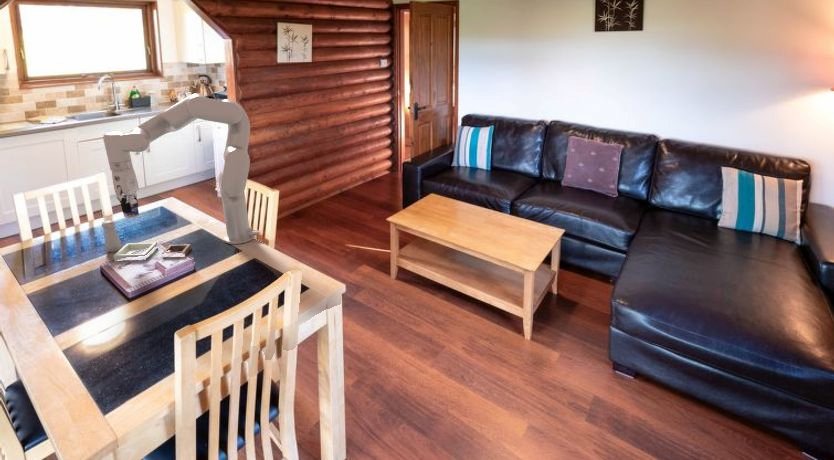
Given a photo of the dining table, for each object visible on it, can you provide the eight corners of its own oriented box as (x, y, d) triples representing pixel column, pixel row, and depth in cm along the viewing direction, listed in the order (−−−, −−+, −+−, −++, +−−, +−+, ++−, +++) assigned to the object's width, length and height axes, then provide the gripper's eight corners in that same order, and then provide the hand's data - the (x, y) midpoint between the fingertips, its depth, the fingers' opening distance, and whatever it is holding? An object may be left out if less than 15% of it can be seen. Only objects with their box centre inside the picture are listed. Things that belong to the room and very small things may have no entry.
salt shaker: (117, 246, 208) (110, 218, 203) (125, 249, 205) (118, 220, 200) (104, 251, 203) (96, 222, 198) (112, 254, 200) (104, 225, 195)
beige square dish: (191, 248, 206) (190, 244, 205) (184, 257, 198) (183, 252, 197) (170, 249, 205) (169, 244, 205) (162, 257, 197) (161, 253, 197)
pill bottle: (129, 219, 191) (125, 197, 187) (121, 216, 193) (117, 195, 190) (142, 215, 195) (138, 194, 192) (133, 212, 197) (130, 192, 194)
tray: (158, 247, 206) (156, 242, 205) (146, 260, 195) (144, 254, 194) (128, 249, 205) (127, 243, 204) (114, 261, 194) (113, 255, 193)
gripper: (120, 170, 179) (131, 217, 185) (140, 159, 194) (149, 202, 201) (99, 171, 178) (110, 217, 185) (120, 159, 194) (130, 202, 200)
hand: (130, 209), depth 193 cm, fingers closed on pill bottle, 5 cm apart
